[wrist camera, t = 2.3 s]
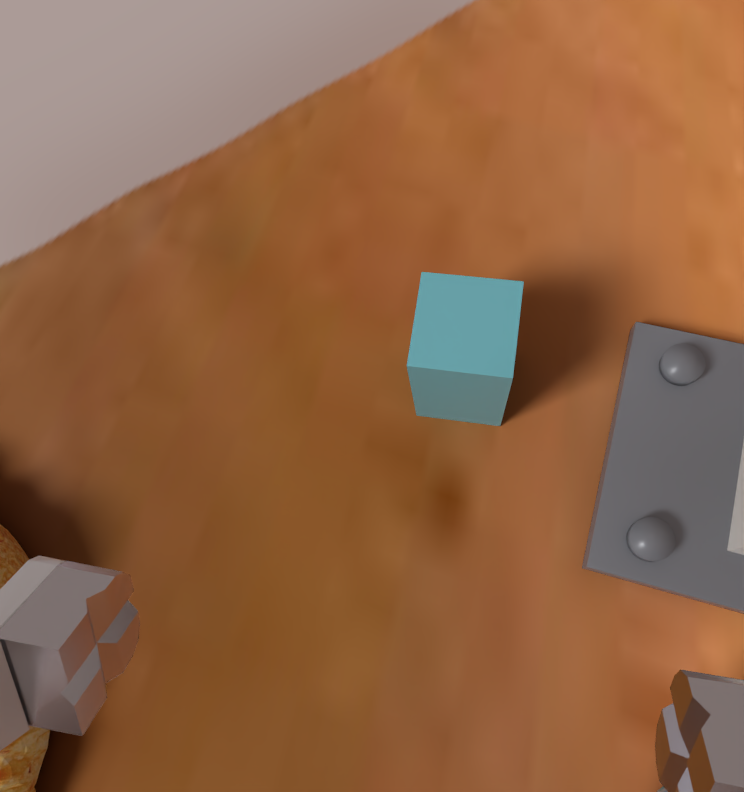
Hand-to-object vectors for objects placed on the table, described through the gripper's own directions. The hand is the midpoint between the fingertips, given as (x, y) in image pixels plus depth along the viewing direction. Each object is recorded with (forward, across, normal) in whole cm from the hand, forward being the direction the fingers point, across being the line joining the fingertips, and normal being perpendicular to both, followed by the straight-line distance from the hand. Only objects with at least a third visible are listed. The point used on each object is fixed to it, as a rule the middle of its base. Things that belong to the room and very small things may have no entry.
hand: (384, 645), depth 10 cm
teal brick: (+26, 0, +8) cm, 27 cm away
